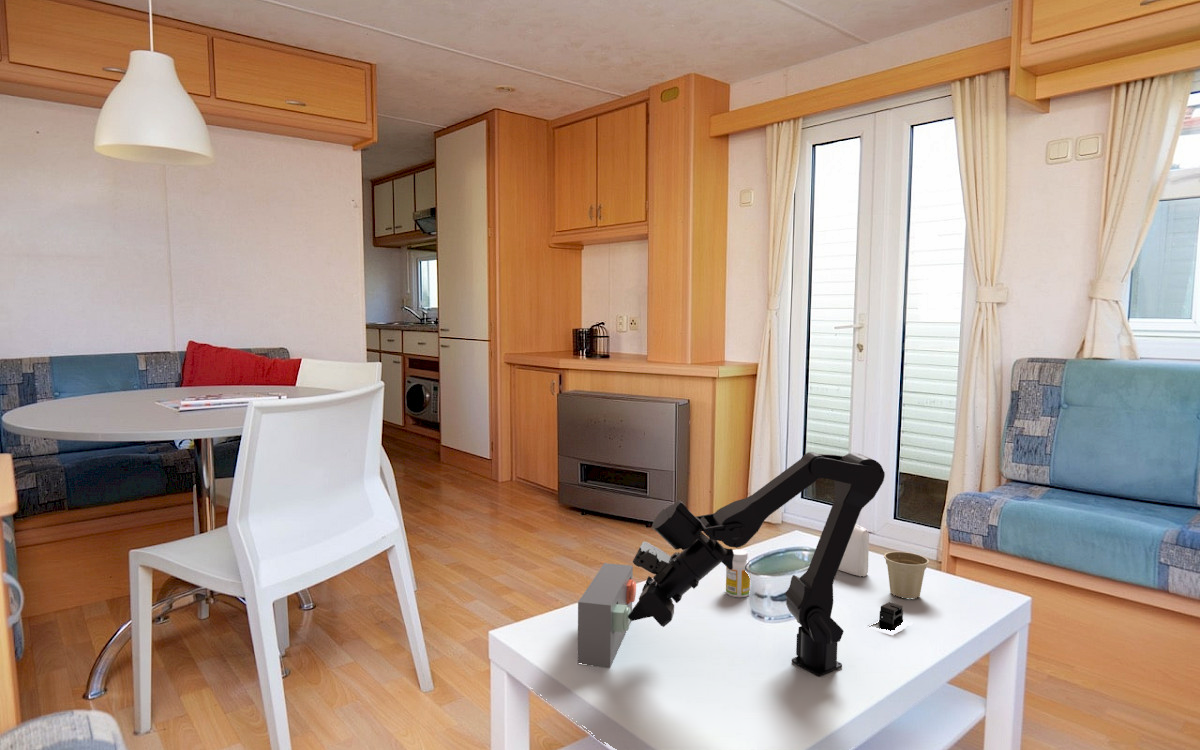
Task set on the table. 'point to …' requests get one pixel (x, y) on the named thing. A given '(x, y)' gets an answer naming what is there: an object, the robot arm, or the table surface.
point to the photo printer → (856, 553)
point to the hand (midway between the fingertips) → (629, 618)
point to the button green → (621, 618)
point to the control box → (602, 615)
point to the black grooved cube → (889, 616)
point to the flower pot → (905, 573)
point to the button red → (631, 591)
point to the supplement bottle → (738, 575)
